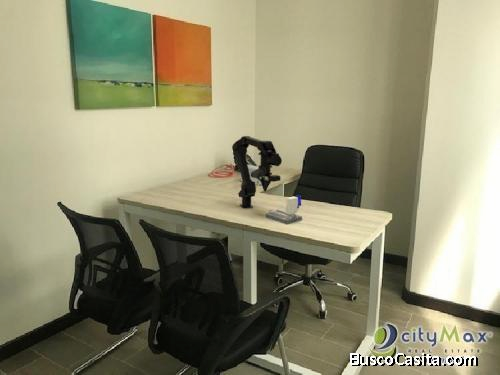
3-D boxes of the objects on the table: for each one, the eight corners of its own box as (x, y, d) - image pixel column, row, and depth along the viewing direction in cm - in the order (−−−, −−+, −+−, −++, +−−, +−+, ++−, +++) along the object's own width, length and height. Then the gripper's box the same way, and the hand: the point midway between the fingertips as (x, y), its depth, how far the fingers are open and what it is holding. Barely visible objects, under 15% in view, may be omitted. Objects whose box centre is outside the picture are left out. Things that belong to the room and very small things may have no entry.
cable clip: (294, 210, 237) (295, 200, 236) (288, 208, 239) (288, 199, 238) (303, 205, 247) (303, 196, 246) (296, 204, 249) (296, 195, 248)
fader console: (265, 217, 222) (265, 211, 221) (280, 213, 229) (281, 207, 229) (286, 224, 210) (286, 218, 209) (301, 219, 218) (302, 214, 217)
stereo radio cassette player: (266, 184, 303) (266, 158, 299) (258, 186, 298) (259, 159, 293) (246, 180, 318) (247, 155, 313) (239, 181, 312) (239, 156, 307)
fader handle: (285, 217, 214) (286, 198, 212) (292, 215, 218) (293, 196, 216) (289, 218, 212) (290, 199, 210) (297, 216, 216) (297, 197, 213)
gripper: (243, 162, 224) (243, 190, 228) (266, 167, 211) (266, 196, 214) (258, 161, 231) (257, 187, 235) (281, 165, 218) (280, 193, 221)
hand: (264, 191), depth 226 cm, fingers closed
